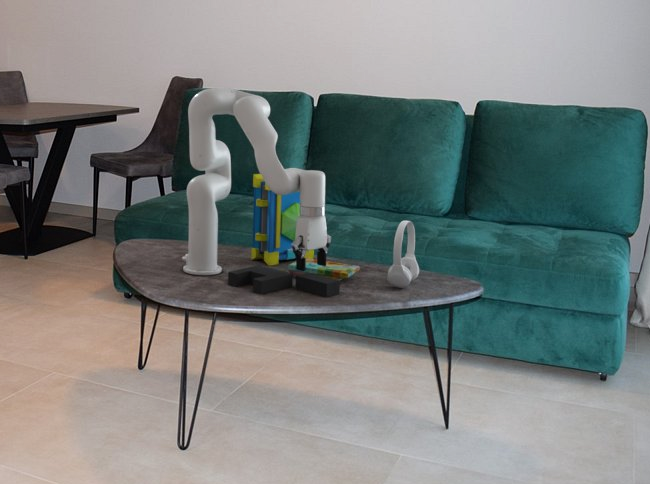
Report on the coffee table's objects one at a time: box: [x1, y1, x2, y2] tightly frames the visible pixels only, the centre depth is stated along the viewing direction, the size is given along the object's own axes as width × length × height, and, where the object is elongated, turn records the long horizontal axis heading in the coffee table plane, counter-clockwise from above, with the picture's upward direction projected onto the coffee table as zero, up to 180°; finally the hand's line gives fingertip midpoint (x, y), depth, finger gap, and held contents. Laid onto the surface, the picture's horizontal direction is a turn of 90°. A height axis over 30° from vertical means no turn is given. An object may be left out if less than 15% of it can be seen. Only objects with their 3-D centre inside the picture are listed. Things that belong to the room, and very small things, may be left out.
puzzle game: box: [287, 258, 361, 281], centre depth 262 cm, size 12×5×20 cm
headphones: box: [386, 220, 420, 289], centre depth 254 cm, size 7×18×20 cm, turn 151°
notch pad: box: [227, 264, 294, 295], centre depth 251 cm, size 14×14×4 cm
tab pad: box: [295, 273, 341, 298], centre depth 246 cm, size 12×6×4 cm, turn 42°
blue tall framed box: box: [250, 173, 315, 267], centre depth 285 cm, size 14×23×30 cm, turn 122°
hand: (311, 267), depth 247 cm, fingers open, 9 cm apart
